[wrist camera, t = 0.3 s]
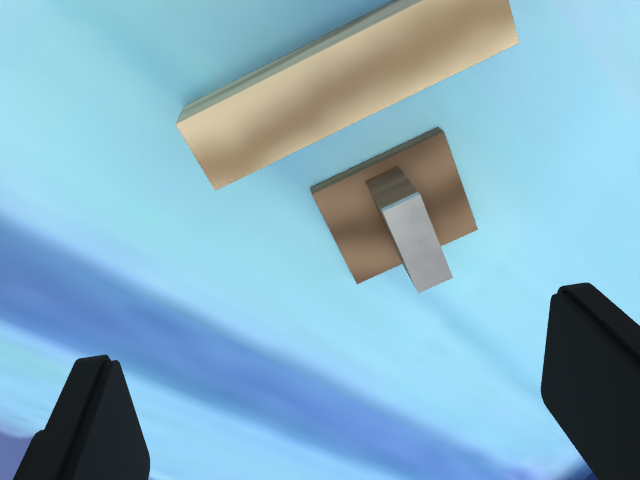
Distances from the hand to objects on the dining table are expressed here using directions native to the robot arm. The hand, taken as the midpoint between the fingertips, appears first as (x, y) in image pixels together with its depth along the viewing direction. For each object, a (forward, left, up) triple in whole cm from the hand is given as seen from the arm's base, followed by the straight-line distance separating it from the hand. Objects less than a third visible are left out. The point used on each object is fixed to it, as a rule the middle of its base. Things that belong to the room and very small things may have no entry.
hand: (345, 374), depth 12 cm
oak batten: (+1, +5, -35) cm, 35 cm away
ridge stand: (+14, +5, -35) cm, 38 cm away
